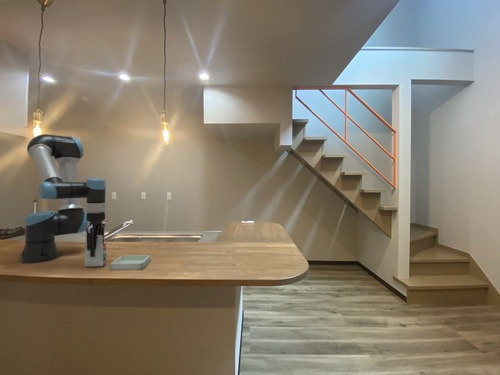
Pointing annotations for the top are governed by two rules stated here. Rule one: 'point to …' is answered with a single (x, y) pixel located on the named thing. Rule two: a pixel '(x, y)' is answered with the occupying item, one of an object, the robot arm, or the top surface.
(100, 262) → the ink box
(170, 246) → the top surface
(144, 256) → the tray
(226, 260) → the top surface
